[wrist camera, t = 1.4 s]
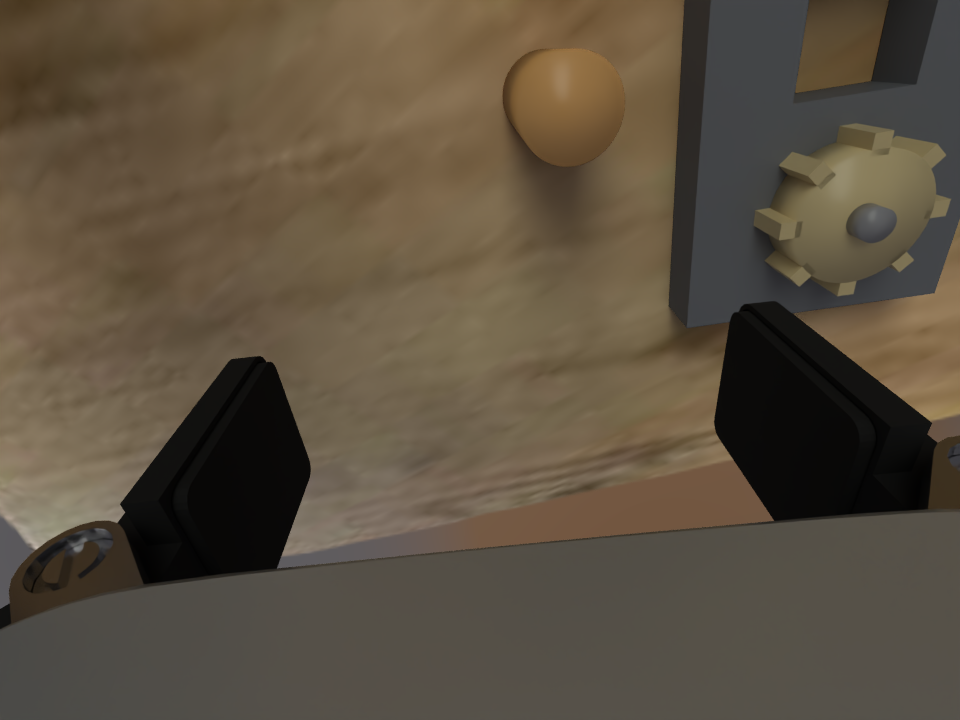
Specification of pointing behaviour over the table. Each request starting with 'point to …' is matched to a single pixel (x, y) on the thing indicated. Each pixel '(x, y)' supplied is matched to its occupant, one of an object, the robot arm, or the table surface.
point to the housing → (812, 163)
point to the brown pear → (564, 104)
